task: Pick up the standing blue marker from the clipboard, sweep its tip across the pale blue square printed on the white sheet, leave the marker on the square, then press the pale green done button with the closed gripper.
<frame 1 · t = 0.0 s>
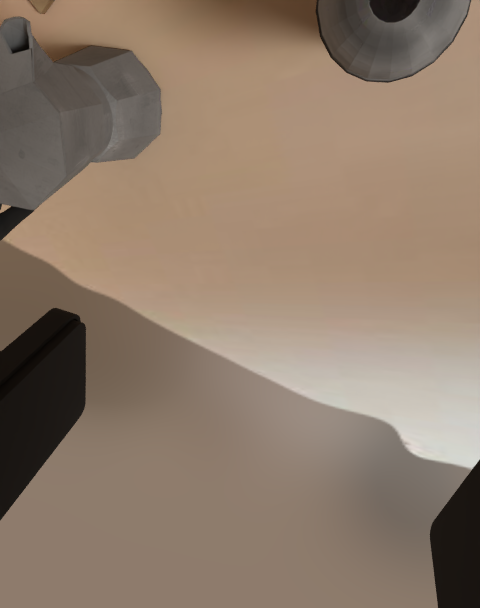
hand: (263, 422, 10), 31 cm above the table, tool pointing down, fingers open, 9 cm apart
coffeepot: (112, 115, 40), on the table
beverage cup: (385, 11, 32), on the table
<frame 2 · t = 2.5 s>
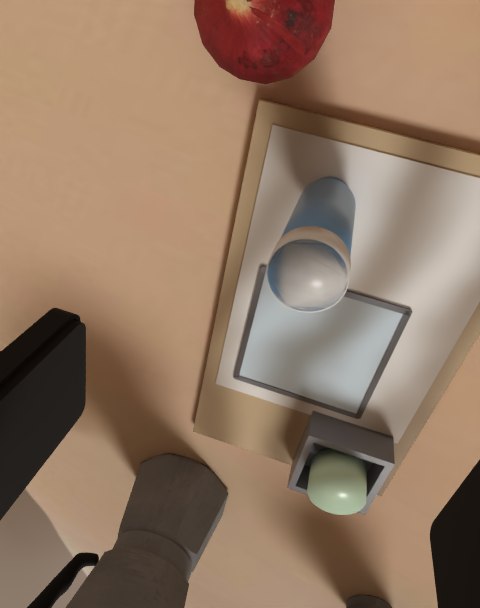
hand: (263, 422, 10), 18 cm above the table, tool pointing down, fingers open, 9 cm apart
onion: (279, 11, 22), on the table
coffeepot: (173, 484, 43), on the table
done button: (337, 481, 32), point 4 cm above the table, slide at 0.0 cm
button housing: (340, 449, 34), resting on clipboard
marker: (328, 198, 25), point 1 cm above the table, touching clipboard
beverage cup: (369, 606, 45), on the table
clipboard: (333, 333, 30), on the table
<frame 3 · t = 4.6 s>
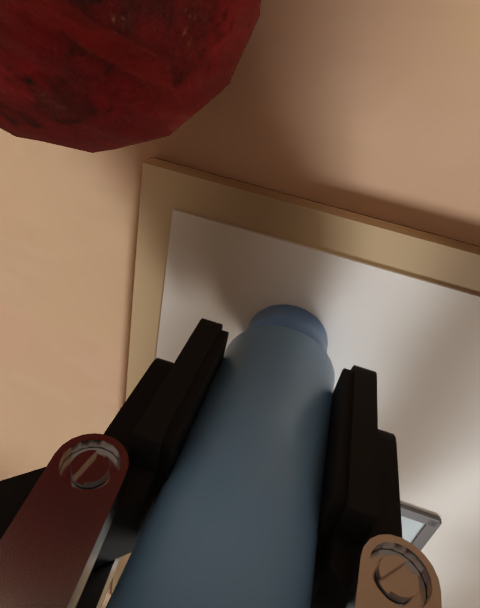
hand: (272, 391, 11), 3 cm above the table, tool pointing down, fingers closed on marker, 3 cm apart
marker: (286, 339, 13), point 1 cm above the table, touching clipboard, gripper
clipboard: (307, 523, 18), on the table
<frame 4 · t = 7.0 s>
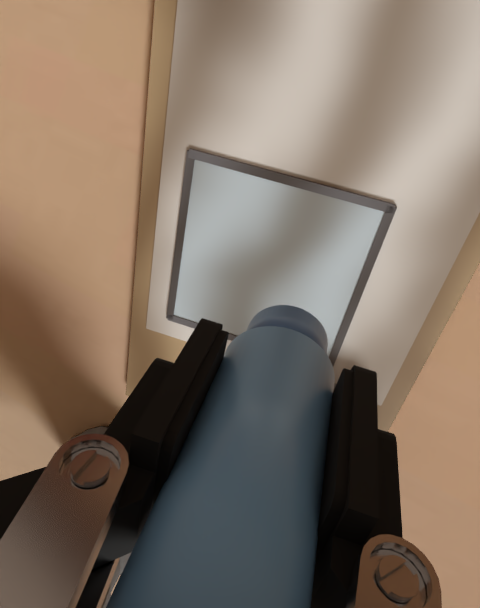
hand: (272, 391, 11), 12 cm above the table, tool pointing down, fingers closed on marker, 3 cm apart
coffeepot: (113, 465, 35), on the table
marker: (286, 340, 13), point 10 cm above the table, touching gripper
clipboard: (292, 251, 22), on the table
when the fingers open (3 cm above the table, at t = 9.7 s): marker stays where it is, resting on clipboard.
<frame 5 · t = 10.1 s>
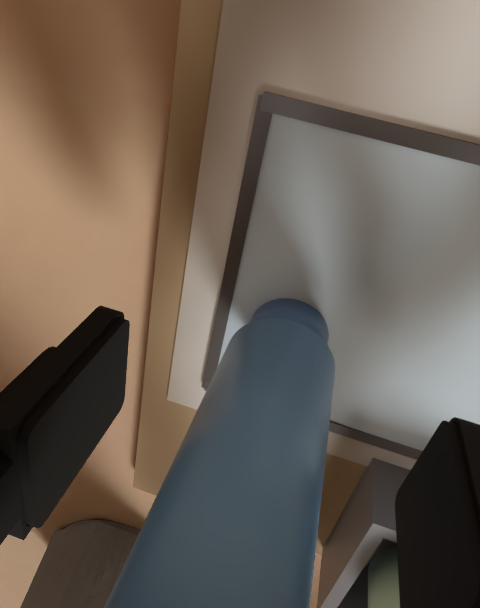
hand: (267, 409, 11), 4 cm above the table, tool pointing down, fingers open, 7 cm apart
coffeepot: (113, 564, 26), on the table
button housing: (423, 532, 17), resting on clipboard
marker: (288, 332, 14), point 1 cm above the table, touching clipboard
clipboard: (435, 283, 13), on the table
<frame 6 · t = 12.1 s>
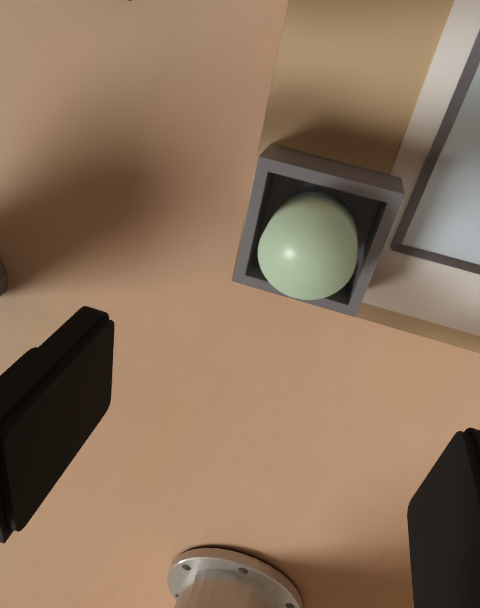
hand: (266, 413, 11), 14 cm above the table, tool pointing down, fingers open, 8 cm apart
done button: (309, 245, 19), point 4 cm above the table, slide at 0.0 cm
button housing: (316, 221, 22), resting on clipboard
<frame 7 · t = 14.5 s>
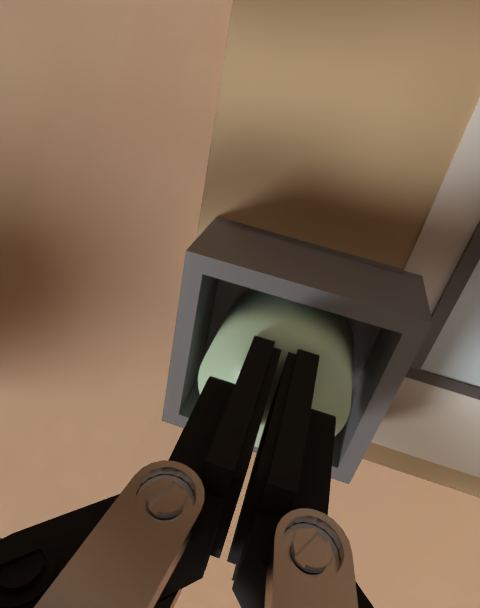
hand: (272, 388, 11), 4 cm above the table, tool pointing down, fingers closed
done button: (279, 367, 13), point 3 cm above the table, slide at 0.9 cm, touching gripper
button housing: (290, 328, 14), resting on clipboard
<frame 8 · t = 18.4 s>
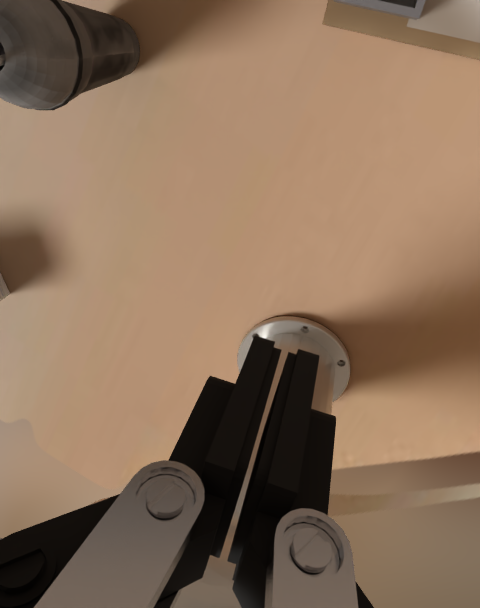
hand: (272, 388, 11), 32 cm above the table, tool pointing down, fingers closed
beverage cup: (116, 47, 39), on the table
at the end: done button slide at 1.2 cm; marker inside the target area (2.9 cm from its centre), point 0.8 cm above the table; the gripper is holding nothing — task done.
